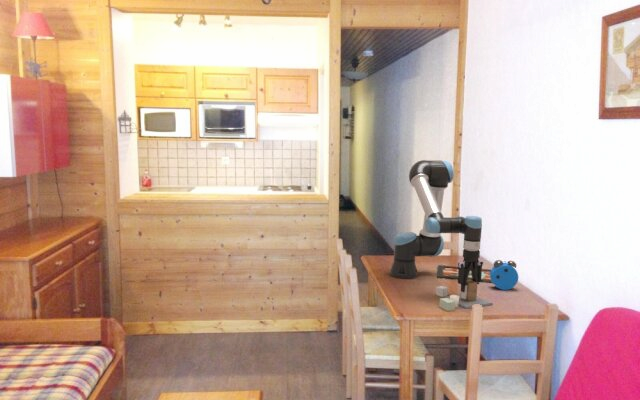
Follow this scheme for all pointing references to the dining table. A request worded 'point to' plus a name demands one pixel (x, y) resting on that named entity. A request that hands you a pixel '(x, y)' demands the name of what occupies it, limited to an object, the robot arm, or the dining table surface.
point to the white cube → (441, 291)
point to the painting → (454, 273)
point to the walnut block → (471, 291)
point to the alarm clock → (504, 275)
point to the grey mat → (469, 304)
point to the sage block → (447, 304)
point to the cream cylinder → (455, 300)
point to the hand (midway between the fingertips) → (468, 297)
